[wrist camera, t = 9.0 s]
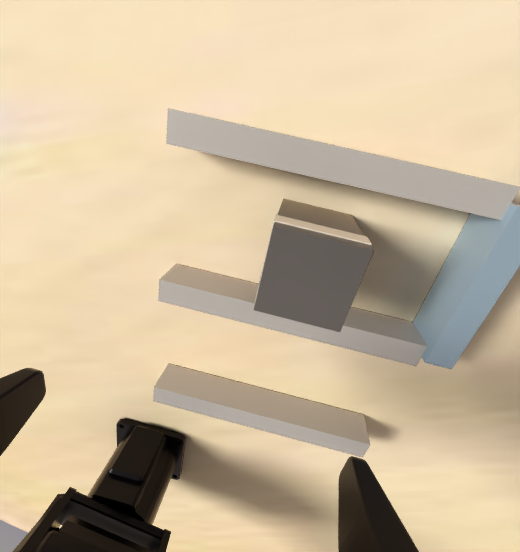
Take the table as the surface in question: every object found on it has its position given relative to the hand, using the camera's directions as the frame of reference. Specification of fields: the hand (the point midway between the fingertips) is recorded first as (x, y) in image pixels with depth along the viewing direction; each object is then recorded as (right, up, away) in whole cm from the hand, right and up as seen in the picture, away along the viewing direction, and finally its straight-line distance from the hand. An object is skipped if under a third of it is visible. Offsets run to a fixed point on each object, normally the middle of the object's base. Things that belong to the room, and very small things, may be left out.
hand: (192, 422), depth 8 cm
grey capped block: (+5, +6, +9) cm, 12 cm away
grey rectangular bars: (+4, +2, +11) cm, 12 cm away
